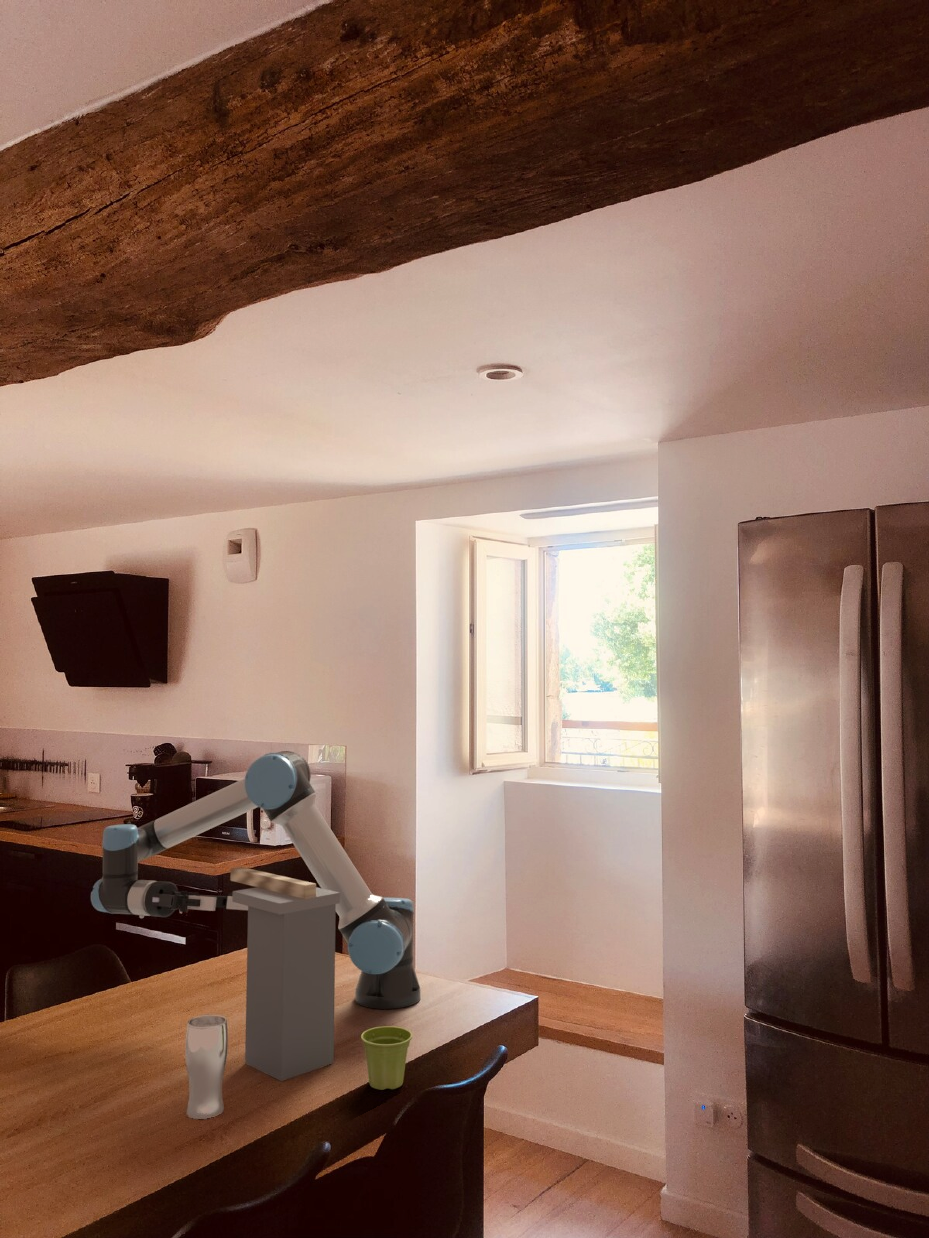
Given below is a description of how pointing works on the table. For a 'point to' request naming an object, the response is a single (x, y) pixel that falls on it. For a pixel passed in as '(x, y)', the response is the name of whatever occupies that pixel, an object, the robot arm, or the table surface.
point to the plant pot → (386, 1055)
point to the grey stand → (289, 981)
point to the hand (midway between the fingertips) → (234, 903)
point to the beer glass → (206, 1064)
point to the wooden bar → (274, 882)
